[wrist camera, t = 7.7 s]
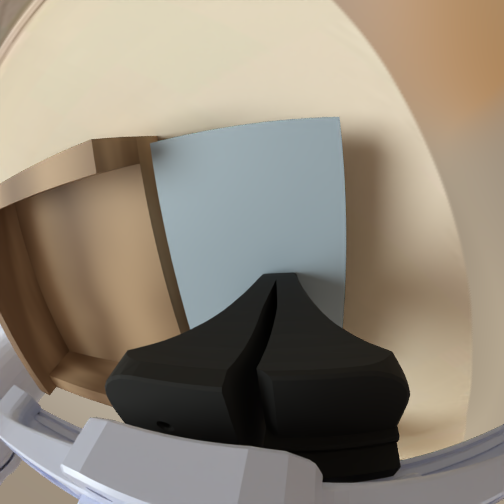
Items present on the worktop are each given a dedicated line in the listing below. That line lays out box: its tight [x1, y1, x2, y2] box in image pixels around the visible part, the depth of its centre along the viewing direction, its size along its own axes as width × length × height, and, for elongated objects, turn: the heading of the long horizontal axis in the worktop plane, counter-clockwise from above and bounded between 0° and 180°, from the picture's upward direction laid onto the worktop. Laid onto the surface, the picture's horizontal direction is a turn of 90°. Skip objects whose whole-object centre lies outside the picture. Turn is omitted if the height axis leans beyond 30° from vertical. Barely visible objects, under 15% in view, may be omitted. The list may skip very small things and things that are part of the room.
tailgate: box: [150, 117, 346, 329], centre depth 12 cm, size 2×13×7 cm
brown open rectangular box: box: [0, 136, 190, 407], centre depth 13 cm, size 12×14×6 cm
